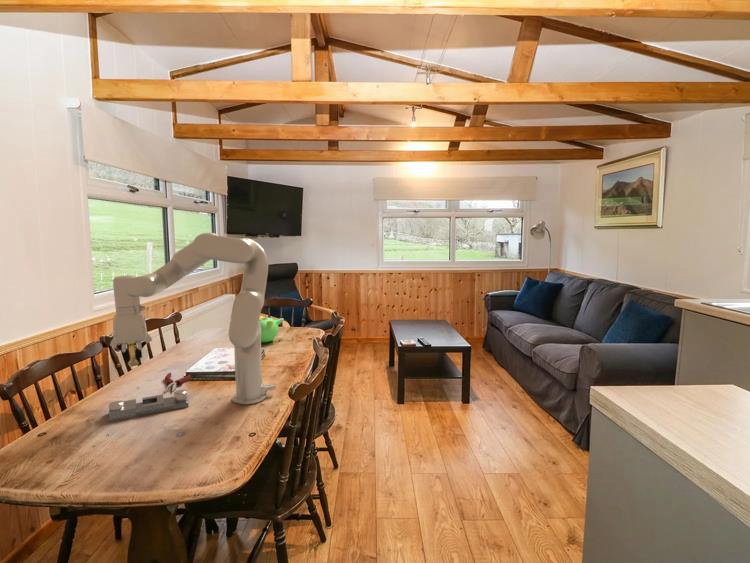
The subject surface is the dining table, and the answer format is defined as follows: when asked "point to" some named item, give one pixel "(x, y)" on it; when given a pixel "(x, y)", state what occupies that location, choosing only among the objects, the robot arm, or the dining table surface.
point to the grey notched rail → (147, 406)
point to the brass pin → (132, 353)
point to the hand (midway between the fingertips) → (133, 360)
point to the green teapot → (269, 328)
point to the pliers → (173, 384)
